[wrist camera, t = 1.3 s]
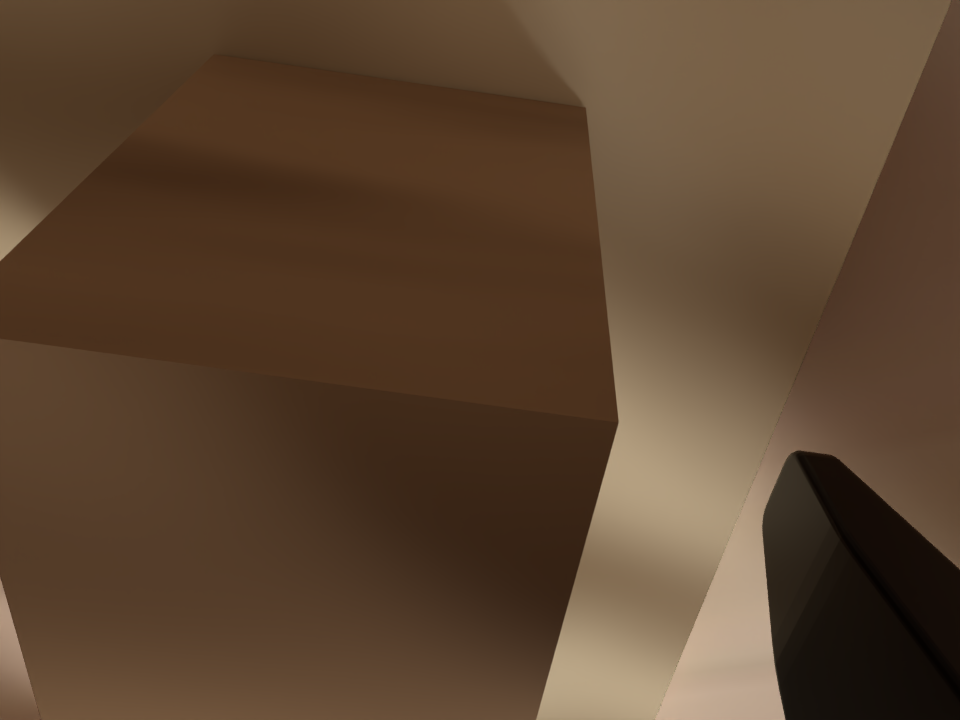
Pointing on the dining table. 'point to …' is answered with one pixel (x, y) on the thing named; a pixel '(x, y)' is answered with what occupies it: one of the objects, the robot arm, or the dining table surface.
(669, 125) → the board
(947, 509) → the dining table surface
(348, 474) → the walnut block
